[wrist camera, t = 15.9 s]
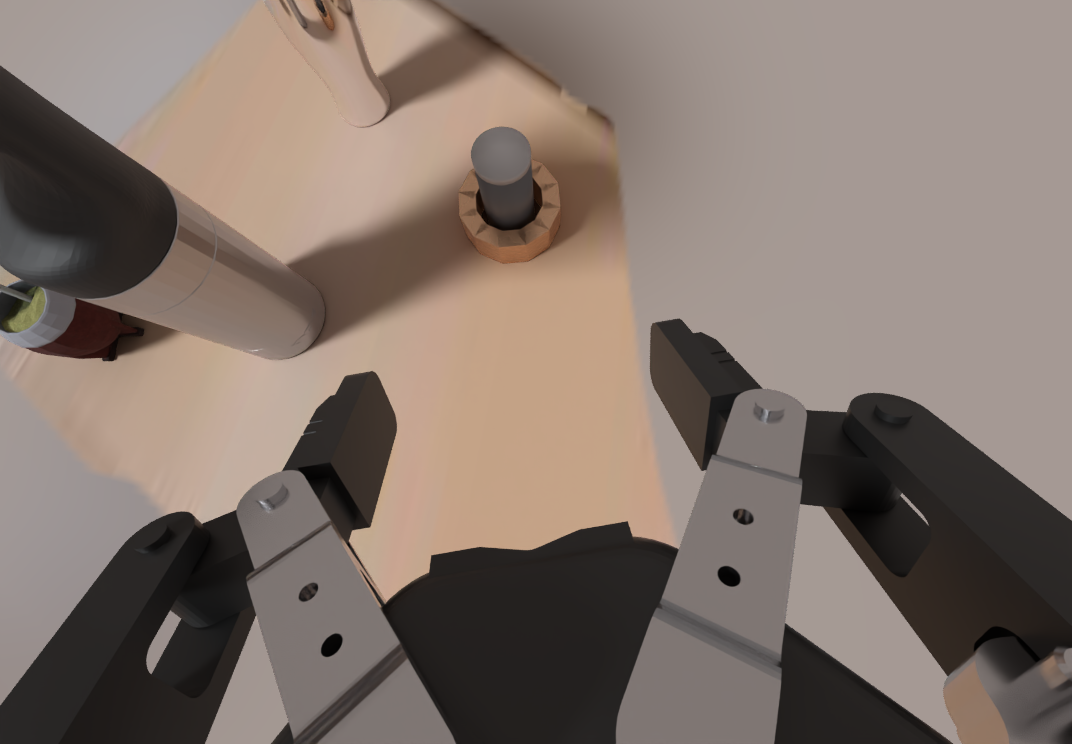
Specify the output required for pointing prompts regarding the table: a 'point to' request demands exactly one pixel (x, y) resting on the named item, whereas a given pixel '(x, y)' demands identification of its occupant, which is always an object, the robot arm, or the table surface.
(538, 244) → the wooden polygonal ring
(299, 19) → the beer glass
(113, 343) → the mate gourd
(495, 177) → the plug
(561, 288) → the table surface
